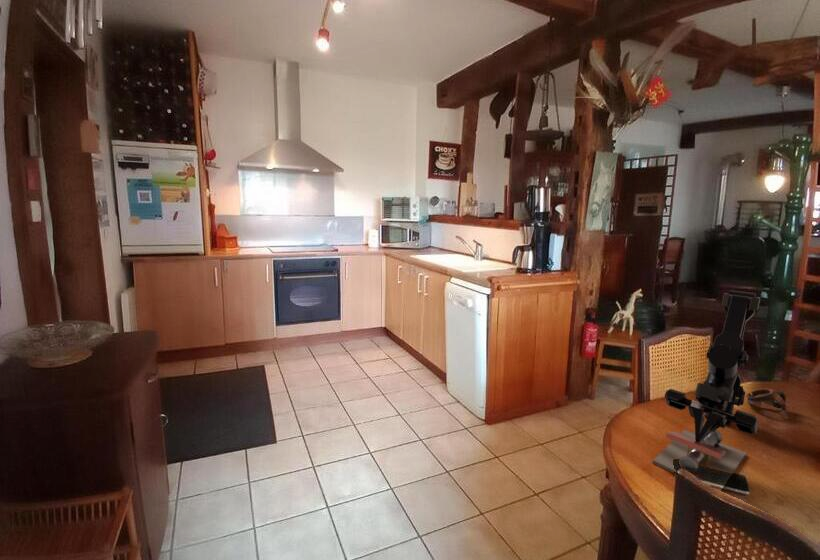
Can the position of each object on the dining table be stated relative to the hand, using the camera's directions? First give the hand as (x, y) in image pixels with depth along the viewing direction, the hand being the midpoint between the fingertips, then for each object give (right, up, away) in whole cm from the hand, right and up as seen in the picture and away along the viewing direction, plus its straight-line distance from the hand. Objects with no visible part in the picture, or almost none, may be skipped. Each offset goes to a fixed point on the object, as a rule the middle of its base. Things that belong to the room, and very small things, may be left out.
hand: (697, 441), depth 101 cm
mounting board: (+3, -7, +4) cm, 9 cm away
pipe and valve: (+4, -6, +5) cm, 9 cm away
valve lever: (+4, -2, +3) cm, 5 cm away
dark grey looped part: (+44, -3, +31) cm, 53 cm away
